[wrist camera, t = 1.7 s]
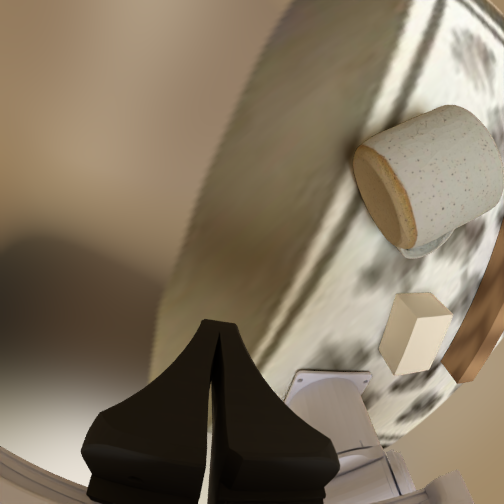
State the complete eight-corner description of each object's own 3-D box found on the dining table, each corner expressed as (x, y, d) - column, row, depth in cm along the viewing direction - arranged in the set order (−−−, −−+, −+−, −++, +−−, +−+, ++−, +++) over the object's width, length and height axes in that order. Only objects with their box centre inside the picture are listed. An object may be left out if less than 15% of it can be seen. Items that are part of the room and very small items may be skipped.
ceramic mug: (332, 144, 18) (386, 152, 11) (420, 104, 17) (491, 103, 10) (381, 269, 22) (431, 322, 15) (455, 224, 21) (515, 259, 14)
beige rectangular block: (411, 344, 25) (428, 369, 22) (377, 348, 25) (393, 376, 21) (429, 291, 23) (453, 314, 19) (395, 293, 23) (417, 317, 19)
